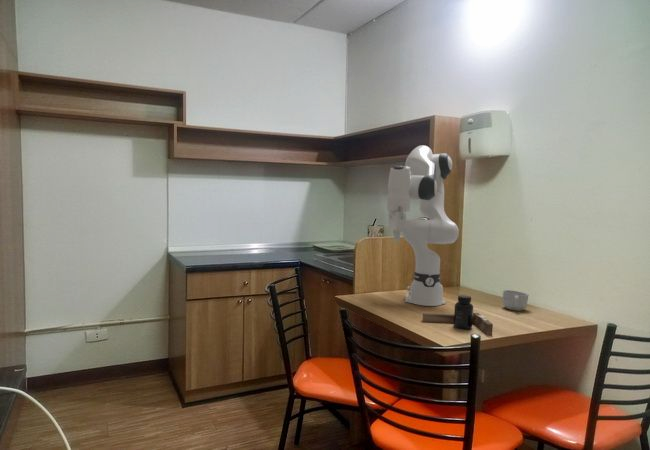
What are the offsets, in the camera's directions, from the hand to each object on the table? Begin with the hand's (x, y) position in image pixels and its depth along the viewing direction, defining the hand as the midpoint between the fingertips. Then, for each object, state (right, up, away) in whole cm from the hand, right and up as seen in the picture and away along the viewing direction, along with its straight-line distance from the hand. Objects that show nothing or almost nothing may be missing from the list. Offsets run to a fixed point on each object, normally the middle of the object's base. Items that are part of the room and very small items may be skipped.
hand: (396, 241), depth 181 cm
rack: (+22, -33, -6) cm, 39 cm away
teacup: (+58, -32, +26) cm, 71 cm away
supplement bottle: (+24, -33, -6) cm, 41 cm away
